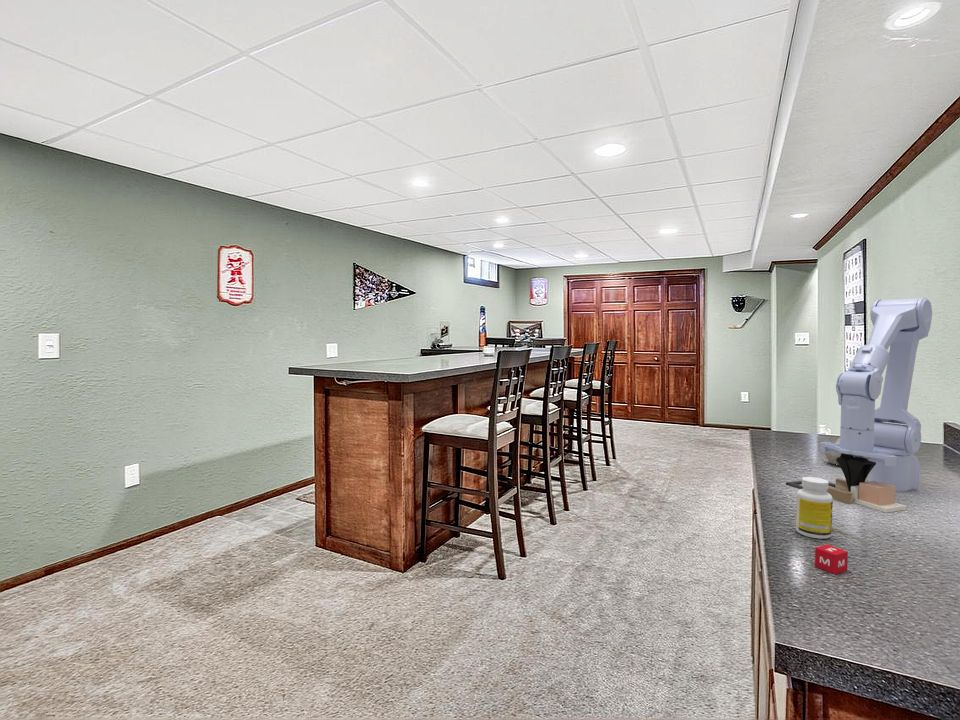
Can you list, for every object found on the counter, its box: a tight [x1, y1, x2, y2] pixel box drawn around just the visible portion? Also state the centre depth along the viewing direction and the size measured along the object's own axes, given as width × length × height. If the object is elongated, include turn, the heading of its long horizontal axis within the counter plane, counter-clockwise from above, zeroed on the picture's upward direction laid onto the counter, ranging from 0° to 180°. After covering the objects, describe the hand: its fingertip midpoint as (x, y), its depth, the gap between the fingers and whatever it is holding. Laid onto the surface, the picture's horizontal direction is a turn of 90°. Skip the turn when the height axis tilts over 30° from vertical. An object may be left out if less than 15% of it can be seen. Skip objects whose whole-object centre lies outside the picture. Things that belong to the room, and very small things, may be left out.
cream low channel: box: [850, 486, 907, 513], centre depth 103 cm, size 6×7×3 cm
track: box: [827, 477, 853, 505], centre depth 106 cm, size 10×16×3 cm, turn 18°
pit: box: [785, 480, 836, 490], centre depth 117 cm, size 10×5×1 cm, turn 108°
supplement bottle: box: [795, 476, 834, 540], centre depth 90 cm, size 5×5×10 cm
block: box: [859, 481, 896, 506], centre depth 103 cm, size 4×4×4 cm
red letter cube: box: [814, 544, 849, 575], centre depth 77 cm, size 3×3×3 cm
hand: (854, 491), depth 107 cm, fingers closed
